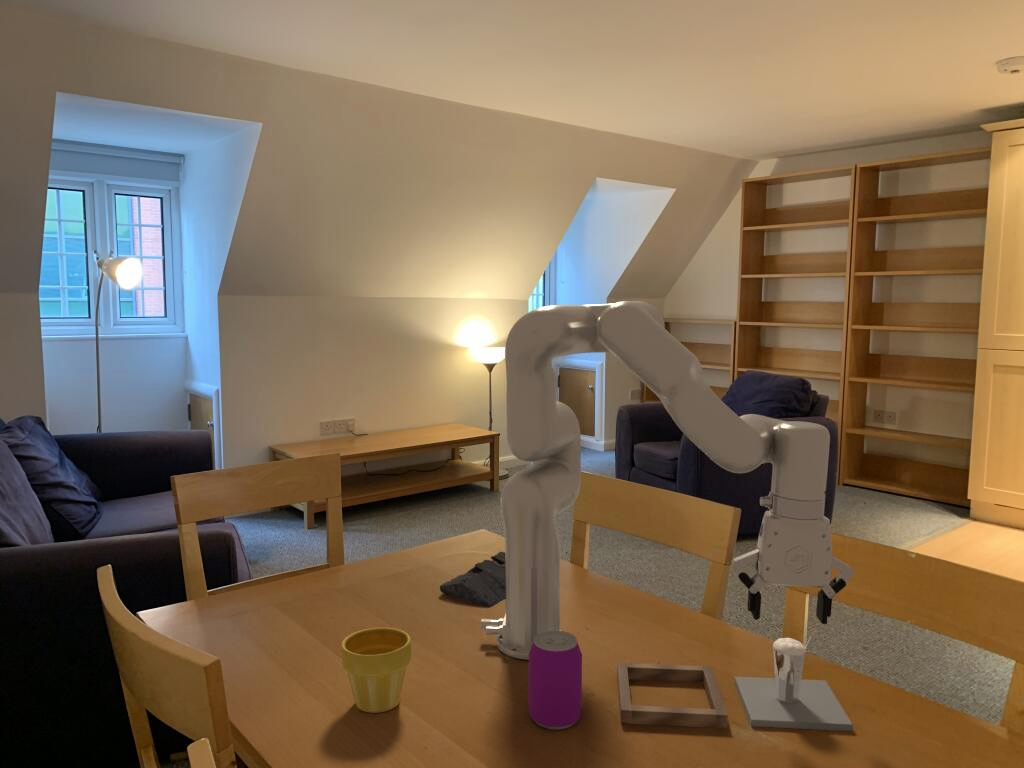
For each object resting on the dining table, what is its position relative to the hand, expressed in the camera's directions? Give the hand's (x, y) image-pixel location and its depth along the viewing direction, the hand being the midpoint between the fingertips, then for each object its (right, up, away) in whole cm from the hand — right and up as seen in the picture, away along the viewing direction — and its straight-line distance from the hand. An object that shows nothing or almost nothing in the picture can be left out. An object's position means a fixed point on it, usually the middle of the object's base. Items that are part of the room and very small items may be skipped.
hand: (788, 618), depth 118 cm
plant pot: (-62, -14, +2) cm, 63 cm away
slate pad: (+1, -13, +1) cm, 13 cm away
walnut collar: (-17, -13, +3) cm, 22 cm away
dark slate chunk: (-46, -9, +51) cm, 69 cm away
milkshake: (+1, -13, +1) cm, 13 cm away
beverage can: (-35, -14, -2) cm, 38 cm away
